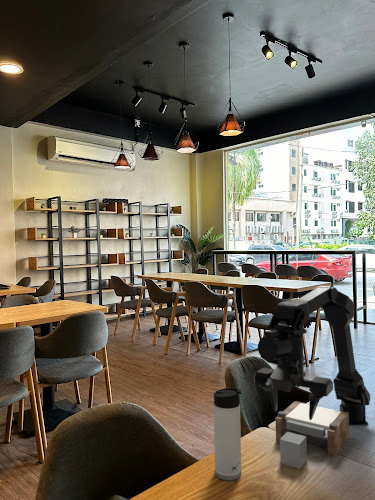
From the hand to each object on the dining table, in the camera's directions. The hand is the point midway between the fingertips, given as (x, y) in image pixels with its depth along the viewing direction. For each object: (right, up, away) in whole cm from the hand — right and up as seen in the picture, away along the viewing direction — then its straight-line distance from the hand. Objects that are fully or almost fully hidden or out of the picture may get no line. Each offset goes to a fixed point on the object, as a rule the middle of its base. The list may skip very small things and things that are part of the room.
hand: (292, 415), depth 100 cm
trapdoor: (+9, -8, +12) cm, 17 cm away
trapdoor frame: (+9, -12, +12) cm, 19 cm away
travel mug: (-17, -12, -5) cm, 21 cm away
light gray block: (0, -12, 0) cm, 12 cm away
